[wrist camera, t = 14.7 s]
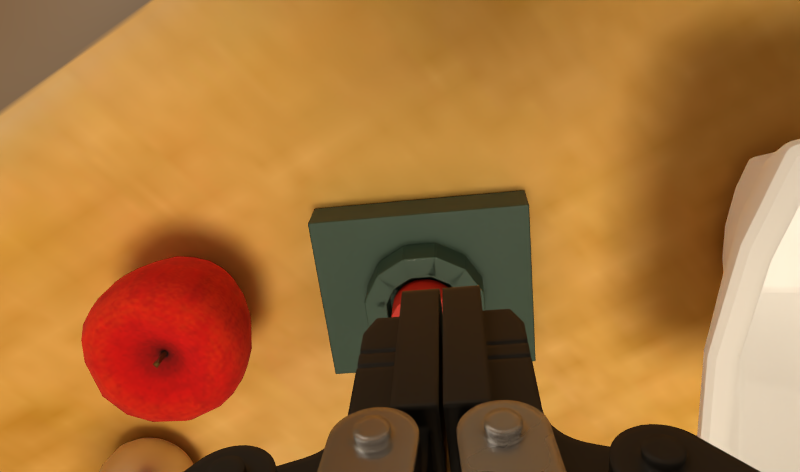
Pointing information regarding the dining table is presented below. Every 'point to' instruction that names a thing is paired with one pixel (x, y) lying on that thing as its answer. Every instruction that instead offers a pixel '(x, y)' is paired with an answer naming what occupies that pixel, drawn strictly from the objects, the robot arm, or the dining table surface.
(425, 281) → the button
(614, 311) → the dining table surface
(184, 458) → the plastic bottle
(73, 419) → the dining table surface
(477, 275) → the dark grey base plate
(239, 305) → the apple
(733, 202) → the bowl
